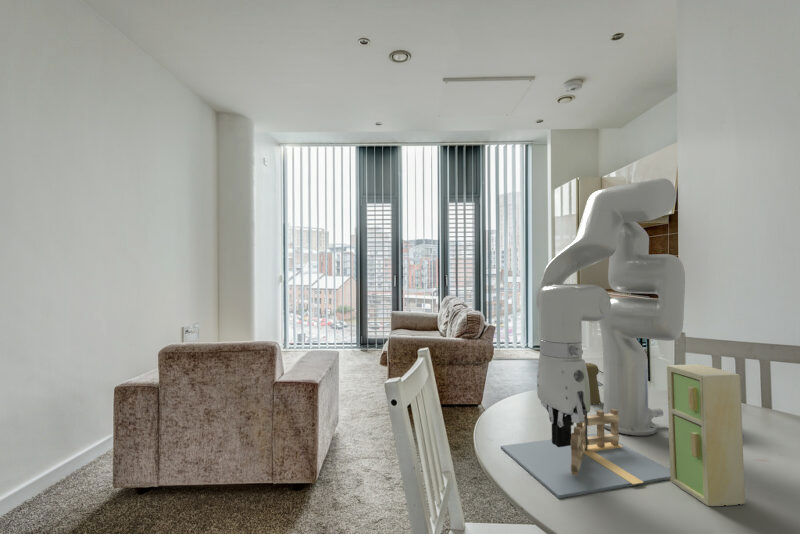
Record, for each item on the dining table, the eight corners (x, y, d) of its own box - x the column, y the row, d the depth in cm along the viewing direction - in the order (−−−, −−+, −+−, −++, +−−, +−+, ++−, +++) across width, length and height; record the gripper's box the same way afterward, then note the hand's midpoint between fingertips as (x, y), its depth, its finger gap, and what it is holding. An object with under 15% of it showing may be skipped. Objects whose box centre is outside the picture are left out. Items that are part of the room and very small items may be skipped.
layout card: (601, 435, 88) (601, 432, 88) (682, 478, 69) (682, 475, 69) (500, 448, 82) (500, 445, 82) (560, 500, 63) (560, 496, 63)
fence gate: (579, 448, 79) (579, 413, 79) (585, 450, 78) (585, 415, 79) (571, 474, 69) (570, 434, 69) (578, 476, 68) (577, 436, 68)
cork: (603, 405, 109) (603, 366, 109) (581, 403, 110) (580, 365, 110) (597, 398, 114) (596, 361, 115) (575, 397, 116) (575, 360, 116)
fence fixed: (614, 445, 83) (613, 405, 83) (620, 448, 81) (619, 407, 81) (577, 450, 80) (577, 408, 81) (582, 454, 79) (582, 411, 79)
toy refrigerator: (664, 480, 69) (662, 364, 69) (702, 479, 69) (700, 363, 70) (703, 507, 61) (701, 376, 61) (745, 505, 61) (743, 374, 62)
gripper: (607, 356, 67) (608, 460, 67) (551, 341, 82) (552, 427, 81) (572, 358, 65) (573, 466, 65) (520, 343, 80) (521, 431, 79)
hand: (561, 444), depth 73 cm, fingers closed
